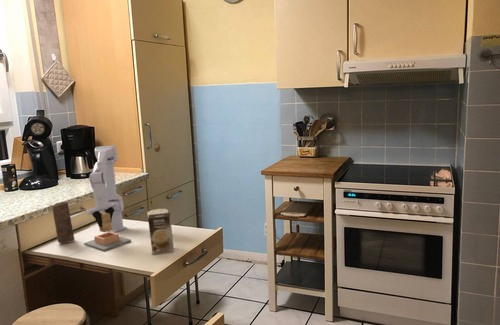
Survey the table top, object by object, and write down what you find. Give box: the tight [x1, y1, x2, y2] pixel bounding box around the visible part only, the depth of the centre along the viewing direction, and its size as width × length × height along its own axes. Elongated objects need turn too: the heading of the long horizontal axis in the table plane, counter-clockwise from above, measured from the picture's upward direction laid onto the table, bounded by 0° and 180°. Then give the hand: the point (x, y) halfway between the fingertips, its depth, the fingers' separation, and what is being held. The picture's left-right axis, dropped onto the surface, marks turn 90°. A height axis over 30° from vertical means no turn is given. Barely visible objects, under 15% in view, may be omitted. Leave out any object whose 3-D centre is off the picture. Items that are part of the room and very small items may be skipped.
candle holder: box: [146, 208, 169, 218], centre depth 199 cm, size 10×10×12 cm
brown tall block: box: [51, 201, 75, 244], centre depth 201 cm, size 8×7×20 cm
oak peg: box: [98, 212, 112, 233], centre depth 193 cm, size 4×4×8 cm
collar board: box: [83, 231, 132, 253], centre depth 195 cm, size 18×14×4 cm
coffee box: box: [147, 212, 175, 256], centre depth 176 cm, size 9×6×16 cm
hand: (105, 225), depth 194 cm, fingers closed on oak peg, 4 cm apart
